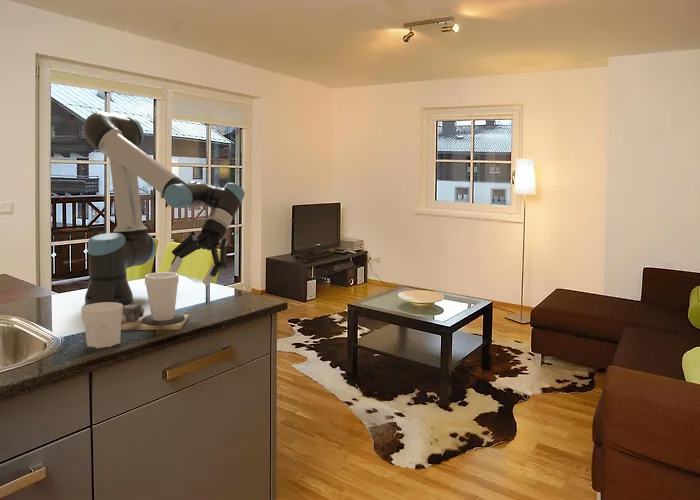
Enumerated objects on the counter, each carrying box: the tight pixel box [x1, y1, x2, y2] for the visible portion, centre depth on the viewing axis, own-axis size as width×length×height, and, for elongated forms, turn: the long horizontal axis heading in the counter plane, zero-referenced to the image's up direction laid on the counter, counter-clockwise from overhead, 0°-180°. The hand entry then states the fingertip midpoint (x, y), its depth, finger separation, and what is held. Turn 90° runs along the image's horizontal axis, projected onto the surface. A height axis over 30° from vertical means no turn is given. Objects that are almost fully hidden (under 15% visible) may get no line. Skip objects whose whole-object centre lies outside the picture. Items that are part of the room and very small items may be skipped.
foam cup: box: [144, 271, 179, 321], centre depth 162 cm, size 10×9×13 cm
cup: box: [80, 302, 124, 349], centre depth 144 cm, size 10×10×10 cm
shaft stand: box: [121, 303, 189, 331], centre depth 163 cm, size 22×12×6 cm, turn 95°
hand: (187, 280), depth 173 cm, fingers open, 13 cm apart
